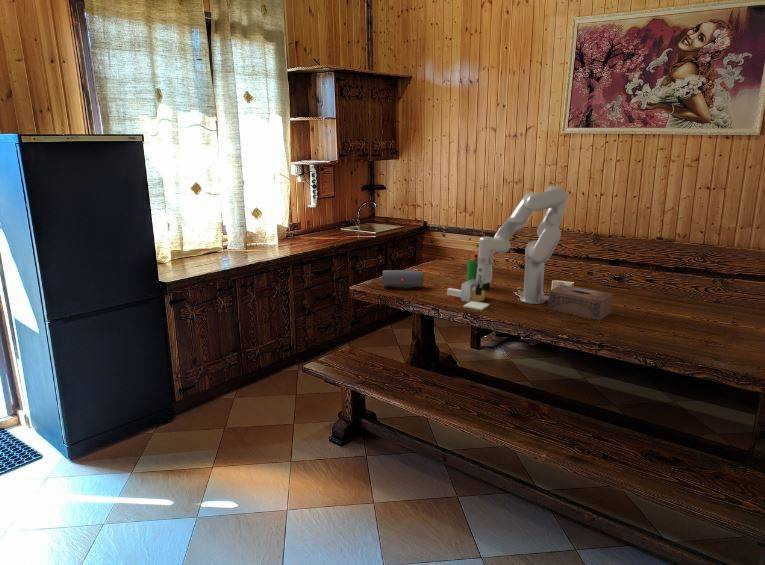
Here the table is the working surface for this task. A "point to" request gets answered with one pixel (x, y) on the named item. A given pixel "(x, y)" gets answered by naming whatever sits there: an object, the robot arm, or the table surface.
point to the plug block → (478, 296)
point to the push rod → (454, 292)
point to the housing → (467, 290)
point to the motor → (472, 269)
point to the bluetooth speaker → (402, 278)
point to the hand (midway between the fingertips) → (482, 292)
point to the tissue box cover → (580, 302)
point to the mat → (476, 305)
